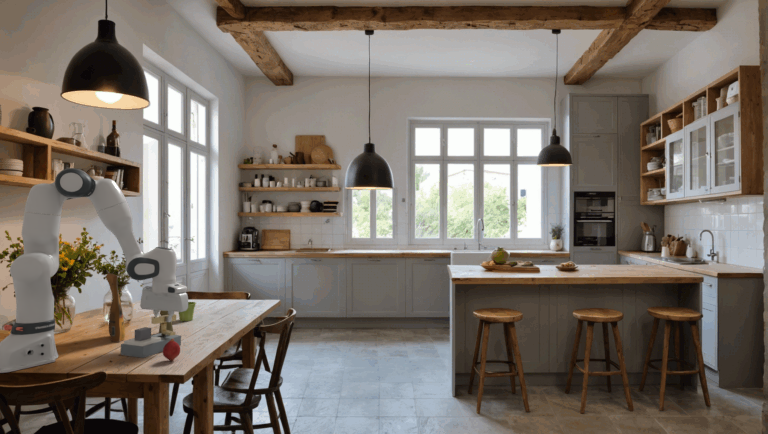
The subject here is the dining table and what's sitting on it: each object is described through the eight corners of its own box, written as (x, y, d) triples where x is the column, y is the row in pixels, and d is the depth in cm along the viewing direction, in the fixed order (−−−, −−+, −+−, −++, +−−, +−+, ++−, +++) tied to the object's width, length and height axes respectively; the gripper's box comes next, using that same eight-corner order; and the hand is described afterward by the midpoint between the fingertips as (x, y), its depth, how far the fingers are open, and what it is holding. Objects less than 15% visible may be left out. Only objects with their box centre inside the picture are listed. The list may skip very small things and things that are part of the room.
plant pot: (183, 323, 237) (183, 305, 237) (172, 320, 242) (172, 303, 242) (199, 320, 244) (200, 303, 245) (188, 317, 250) (188, 301, 250)
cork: (167, 334, 212) (167, 310, 212) (155, 334, 214) (155, 309, 214) (176, 331, 218) (176, 307, 218) (164, 331, 219) (164, 307, 220)
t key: (183, 335, 192) (183, 316, 192) (161, 339, 185) (162, 320, 185) (172, 332, 197) (173, 313, 197) (151, 336, 190) (151, 317, 190)
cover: (142, 346, 177) (142, 332, 177) (123, 344, 180) (124, 330, 180) (161, 340, 186) (161, 327, 186) (143, 338, 189) (143, 325, 189)
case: (143, 357, 177) (143, 346, 177) (120, 354, 180) (120, 343, 180) (180, 345, 194) (181, 334, 195) (159, 342, 198) (159, 332, 198)
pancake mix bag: (107, 344, 195) (108, 275, 195) (105, 334, 211) (106, 271, 211) (126, 342, 198) (127, 274, 199) (122, 333, 215) (123, 270, 215)
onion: (162, 363, 169) (162, 341, 170) (162, 359, 175) (163, 337, 175) (180, 362, 172) (180, 339, 172) (180, 357, 177) (180, 336, 177)
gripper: (136, 286, 193) (136, 321, 193) (180, 289, 188) (179, 324, 187) (148, 285, 199) (147, 318, 199) (190, 287, 194) (190, 321, 194)
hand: (163, 321), depth 193 cm, fingers closed on t key, 3 cm apart
